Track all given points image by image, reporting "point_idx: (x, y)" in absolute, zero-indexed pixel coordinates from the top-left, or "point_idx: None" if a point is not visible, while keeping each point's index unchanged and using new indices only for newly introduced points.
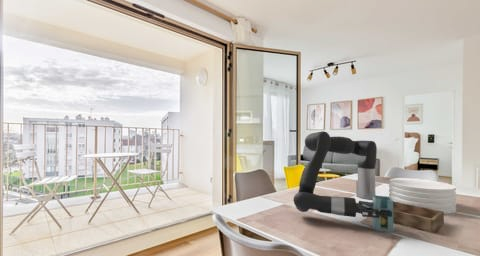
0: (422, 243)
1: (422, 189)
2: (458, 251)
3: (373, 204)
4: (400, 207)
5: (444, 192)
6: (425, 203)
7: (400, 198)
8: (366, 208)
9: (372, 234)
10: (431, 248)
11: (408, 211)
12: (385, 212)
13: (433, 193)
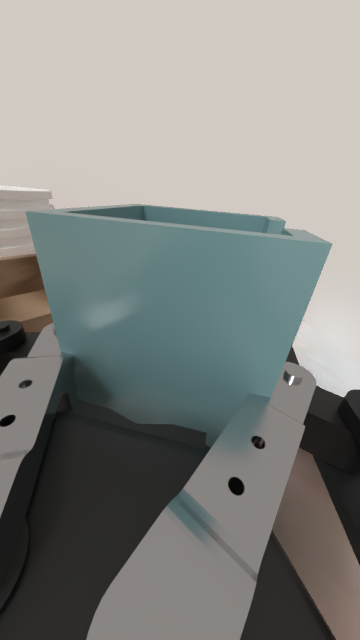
0: (303, 365)
1: (8, 194)
2: (306, 323)
3: (126, 350)
4: (3, 278)
5: (46, 201)
6: (25, 242)
7: None
8: (296, 575)
9: (356, 637)
10: (336, 362)
11: (37, 281)
12: (290, 352)
13: (33, 206)
